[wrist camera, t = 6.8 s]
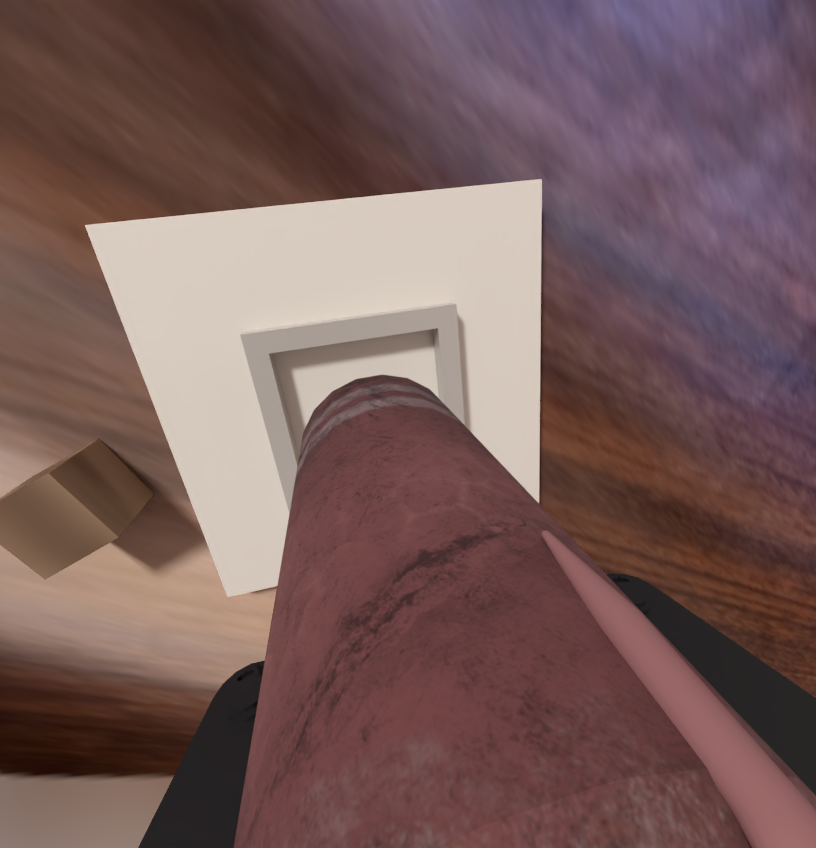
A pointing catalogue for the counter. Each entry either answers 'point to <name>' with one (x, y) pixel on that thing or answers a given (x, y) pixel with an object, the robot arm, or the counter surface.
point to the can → (477, 668)
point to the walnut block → (70, 509)
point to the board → (325, 336)
